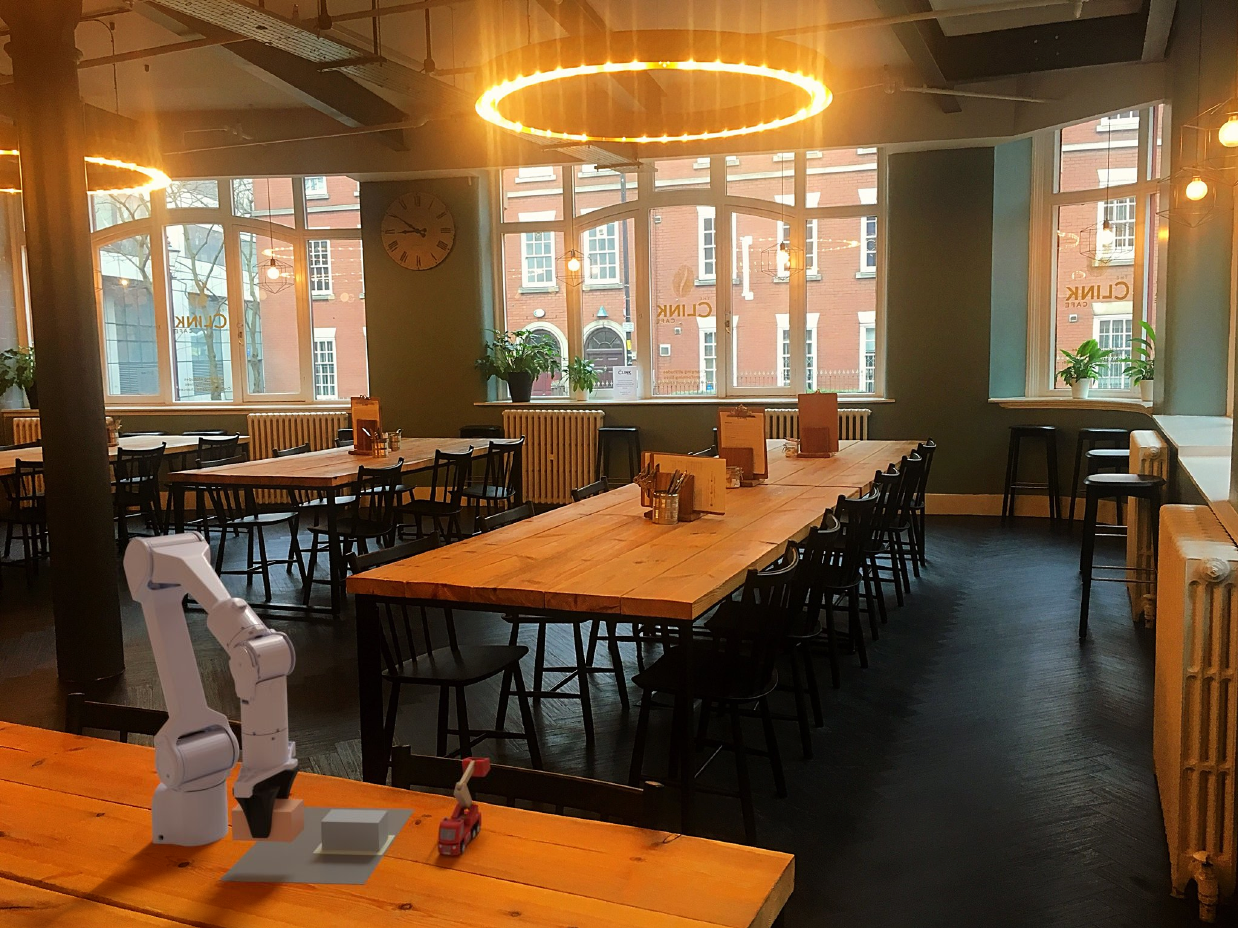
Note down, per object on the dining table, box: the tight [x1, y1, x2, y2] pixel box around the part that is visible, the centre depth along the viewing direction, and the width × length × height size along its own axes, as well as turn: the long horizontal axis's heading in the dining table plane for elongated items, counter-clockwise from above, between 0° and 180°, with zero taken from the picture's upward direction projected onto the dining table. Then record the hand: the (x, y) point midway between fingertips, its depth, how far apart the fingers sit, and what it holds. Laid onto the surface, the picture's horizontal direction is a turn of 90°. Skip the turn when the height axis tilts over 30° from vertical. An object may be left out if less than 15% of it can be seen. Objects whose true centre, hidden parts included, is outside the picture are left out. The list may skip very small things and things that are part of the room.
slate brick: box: [321, 809, 388, 851], centre depth 138 cm, size 8×4×4 cm, turn 85°
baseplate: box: [219, 806, 415, 886], centre depth 139 cm, size 19×23×1 cm
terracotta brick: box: [230, 798, 305, 842], centre depth 132 cm, size 8×4×4 cm, turn 86°
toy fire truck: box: [437, 756, 491, 856], centre depth 143 cm, size 3×14×10 cm, turn 168°
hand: (268, 829), depth 132 cm, fingers closed on terracotta brick, 4 cm apart
